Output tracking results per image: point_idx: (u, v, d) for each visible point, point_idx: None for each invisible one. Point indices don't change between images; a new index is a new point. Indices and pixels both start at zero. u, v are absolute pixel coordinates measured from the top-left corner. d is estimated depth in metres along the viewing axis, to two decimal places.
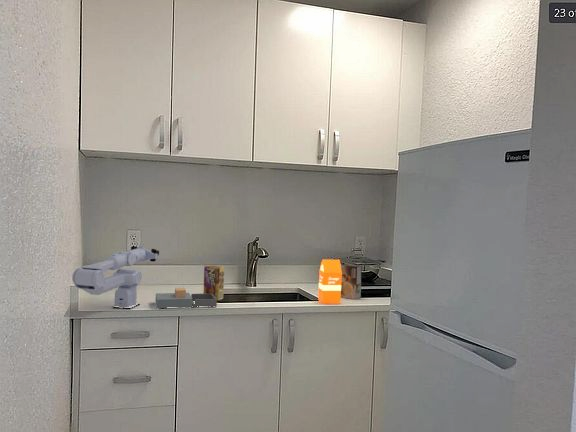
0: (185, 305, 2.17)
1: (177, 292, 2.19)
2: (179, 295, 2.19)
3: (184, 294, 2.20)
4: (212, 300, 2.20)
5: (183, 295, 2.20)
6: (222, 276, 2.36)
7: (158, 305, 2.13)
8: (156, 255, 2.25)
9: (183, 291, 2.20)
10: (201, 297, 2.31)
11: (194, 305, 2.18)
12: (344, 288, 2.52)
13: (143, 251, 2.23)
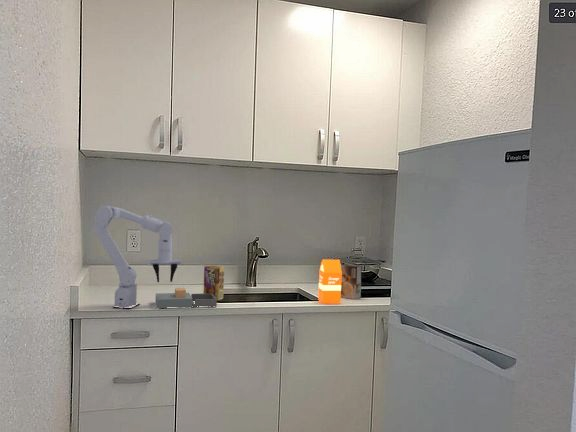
0: (185, 305, 2.17)
1: (177, 292, 2.19)
2: (179, 295, 2.19)
3: (184, 294, 2.20)
4: (212, 300, 2.20)
5: (183, 295, 2.20)
6: (222, 276, 2.36)
7: (158, 305, 2.13)
8: None
9: (183, 291, 2.20)
10: (201, 297, 2.31)
11: (194, 305, 2.18)
12: (344, 288, 2.52)
13: (160, 257, 2.17)
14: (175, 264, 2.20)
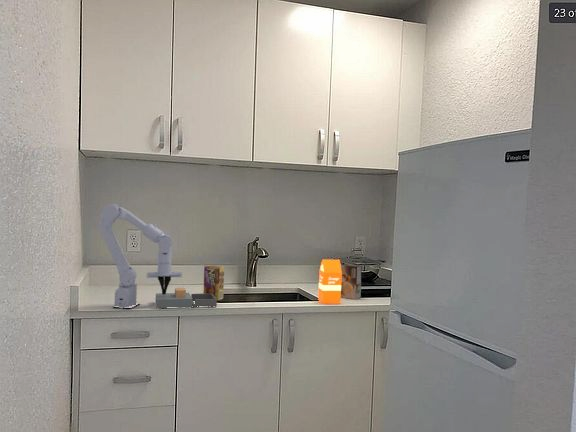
0: (185, 305, 2.17)
1: (177, 292, 2.19)
2: (179, 295, 2.19)
3: (184, 294, 2.20)
4: (212, 300, 2.20)
5: (183, 295, 2.20)
6: (222, 276, 2.36)
7: (158, 305, 2.13)
8: (147, 275, 2.17)
9: (183, 291, 2.20)
10: (201, 297, 2.31)
11: (194, 305, 2.18)
12: (344, 288, 2.52)
13: (160, 269, 2.17)
14: (169, 277, 2.20)
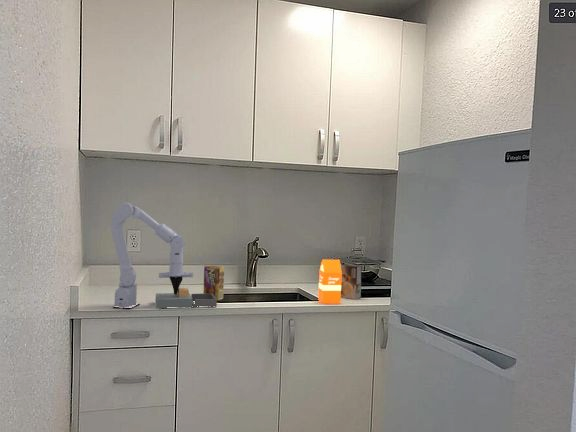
0: (185, 305, 2.17)
1: (180, 292, 2.19)
2: (182, 295, 2.20)
3: (187, 294, 2.20)
4: (212, 300, 2.20)
5: (186, 295, 2.20)
6: (222, 276, 2.36)
7: (158, 305, 2.13)
8: (159, 275, 2.19)
9: (186, 291, 2.20)
10: (201, 297, 2.31)
11: (194, 305, 2.18)
12: (344, 288, 2.52)
13: (171, 269, 2.19)
14: (180, 277, 2.21)
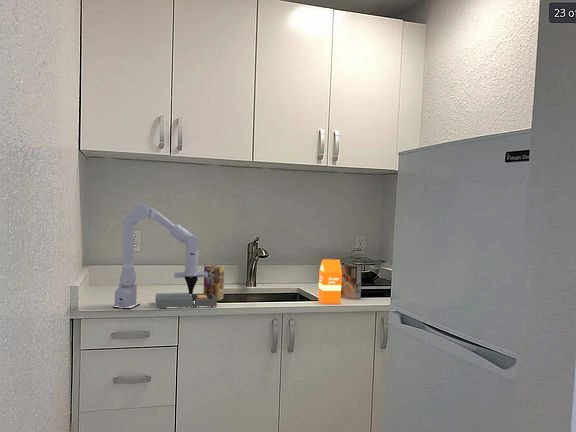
0: (185, 305, 2.17)
1: None
2: None
3: None
4: (212, 300, 2.20)
5: None
6: (222, 276, 2.36)
7: (158, 305, 2.13)
8: (174, 275, 2.21)
9: None
10: None
11: (194, 305, 2.18)
12: (344, 288, 2.52)
13: (187, 269, 2.21)
14: (195, 277, 2.23)
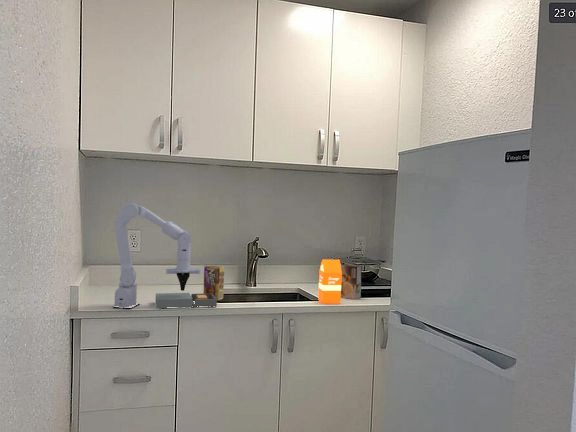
0: (185, 305, 2.17)
1: None
2: None
3: None
4: (212, 300, 2.20)
5: None
6: (222, 276, 2.36)
7: (158, 305, 2.13)
8: (166, 271, 2.20)
9: None
10: None
11: (194, 305, 2.18)
12: (344, 288, 2.52)
13: (179, 265, 2.19)
14: (187, 273, 2.22)
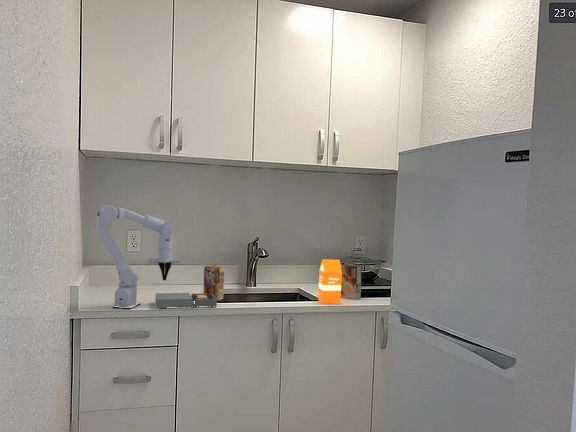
0: (185, 305, 2.17)
1: None
2: None
3: None
4: (212, 300, 2.20)
5: None
6: (222, 276, 2.36)
7: (158, 305, 2.13)
8: None
9: None
10: None
11: (194, 305, 2.18)
12: (344, 288, 2.52)
13: (160, 255, 2.21)
14: (169, 263, 2.23)
